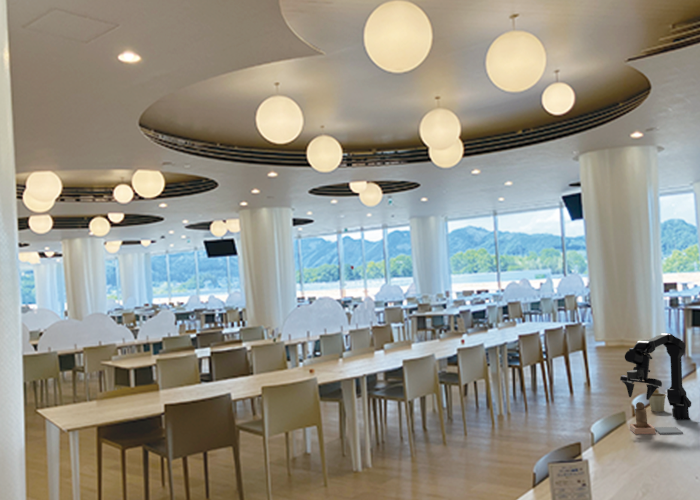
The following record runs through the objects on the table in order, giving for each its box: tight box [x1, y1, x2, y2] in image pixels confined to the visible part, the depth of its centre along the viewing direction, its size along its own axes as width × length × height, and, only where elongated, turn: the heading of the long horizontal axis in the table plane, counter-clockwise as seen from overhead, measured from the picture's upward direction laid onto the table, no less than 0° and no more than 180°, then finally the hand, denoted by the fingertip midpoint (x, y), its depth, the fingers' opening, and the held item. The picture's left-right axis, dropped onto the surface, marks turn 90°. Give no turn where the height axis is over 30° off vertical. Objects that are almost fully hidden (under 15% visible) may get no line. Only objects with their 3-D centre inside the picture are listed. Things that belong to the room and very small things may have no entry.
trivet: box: [653, 426, 684, 435], centre depth 281 cm, size 10×10×1 cm
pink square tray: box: [629, 423, 657, 435], centre depth 284 cm, size 9×9×2 cm
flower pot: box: [648, 392, 667, 413], centre depth 322 cm, size 9×9×9 cm
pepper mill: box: [634, 401, 648, 428], centre depth 284 cm, size 5×5×14 cm
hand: (638, 398), depth 287 cm, fingers open, 9 cm apart
